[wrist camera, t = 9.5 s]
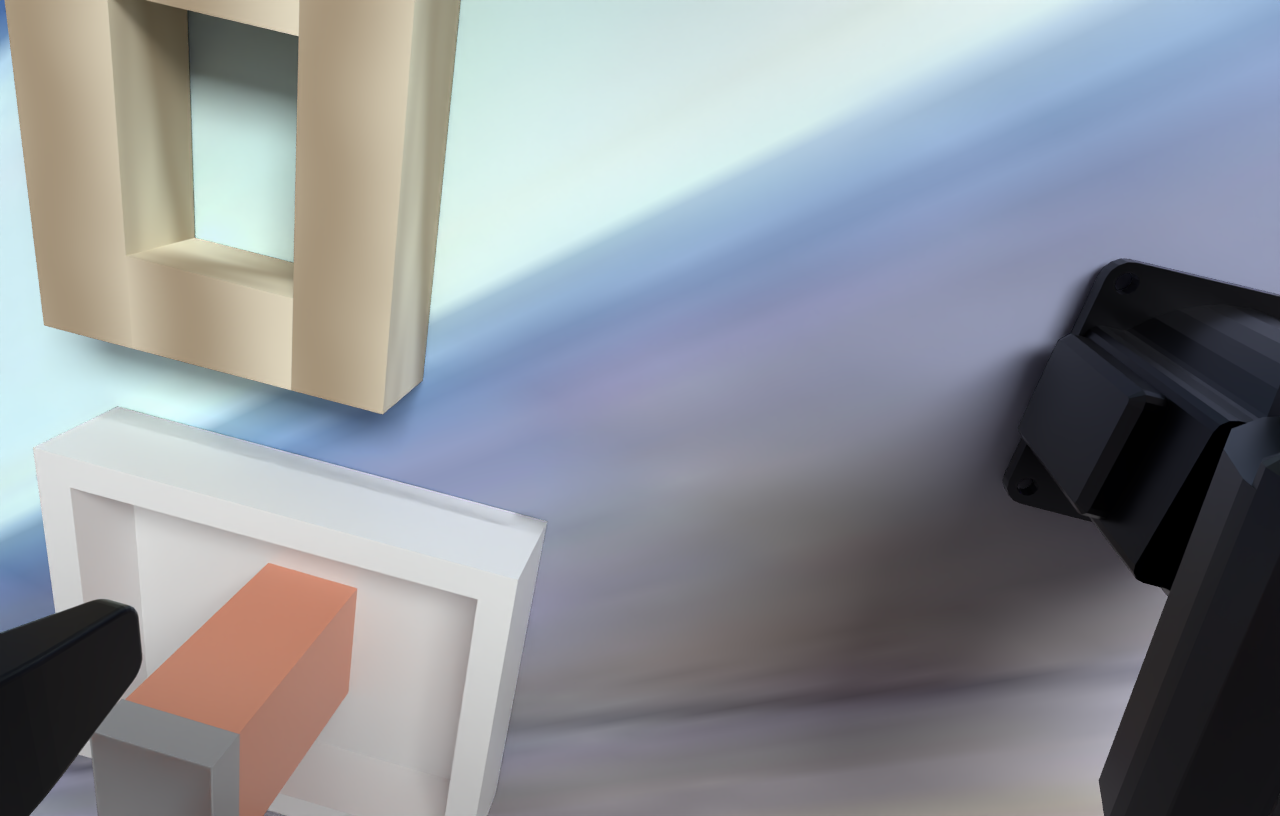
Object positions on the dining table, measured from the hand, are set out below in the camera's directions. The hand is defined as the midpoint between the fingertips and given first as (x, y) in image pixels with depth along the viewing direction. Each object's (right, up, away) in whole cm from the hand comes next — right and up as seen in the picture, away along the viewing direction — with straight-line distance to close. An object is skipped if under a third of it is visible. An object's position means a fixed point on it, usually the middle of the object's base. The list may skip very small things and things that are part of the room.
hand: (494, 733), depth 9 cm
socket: (-8, +11, +11) cm, 17 cm away
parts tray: (-9, -3, +17) cm, 20 cm away
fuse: (-9, -4, +16) cm, 19 cm away
